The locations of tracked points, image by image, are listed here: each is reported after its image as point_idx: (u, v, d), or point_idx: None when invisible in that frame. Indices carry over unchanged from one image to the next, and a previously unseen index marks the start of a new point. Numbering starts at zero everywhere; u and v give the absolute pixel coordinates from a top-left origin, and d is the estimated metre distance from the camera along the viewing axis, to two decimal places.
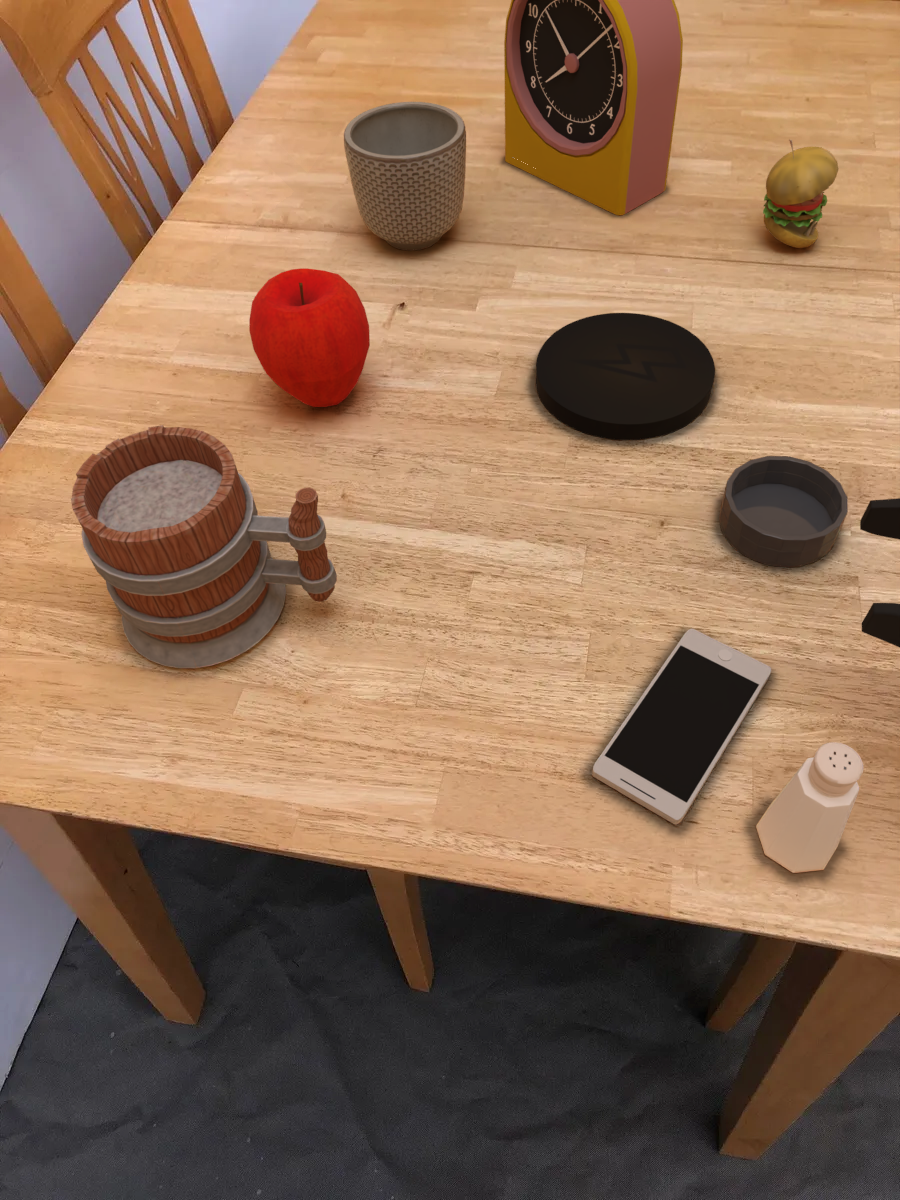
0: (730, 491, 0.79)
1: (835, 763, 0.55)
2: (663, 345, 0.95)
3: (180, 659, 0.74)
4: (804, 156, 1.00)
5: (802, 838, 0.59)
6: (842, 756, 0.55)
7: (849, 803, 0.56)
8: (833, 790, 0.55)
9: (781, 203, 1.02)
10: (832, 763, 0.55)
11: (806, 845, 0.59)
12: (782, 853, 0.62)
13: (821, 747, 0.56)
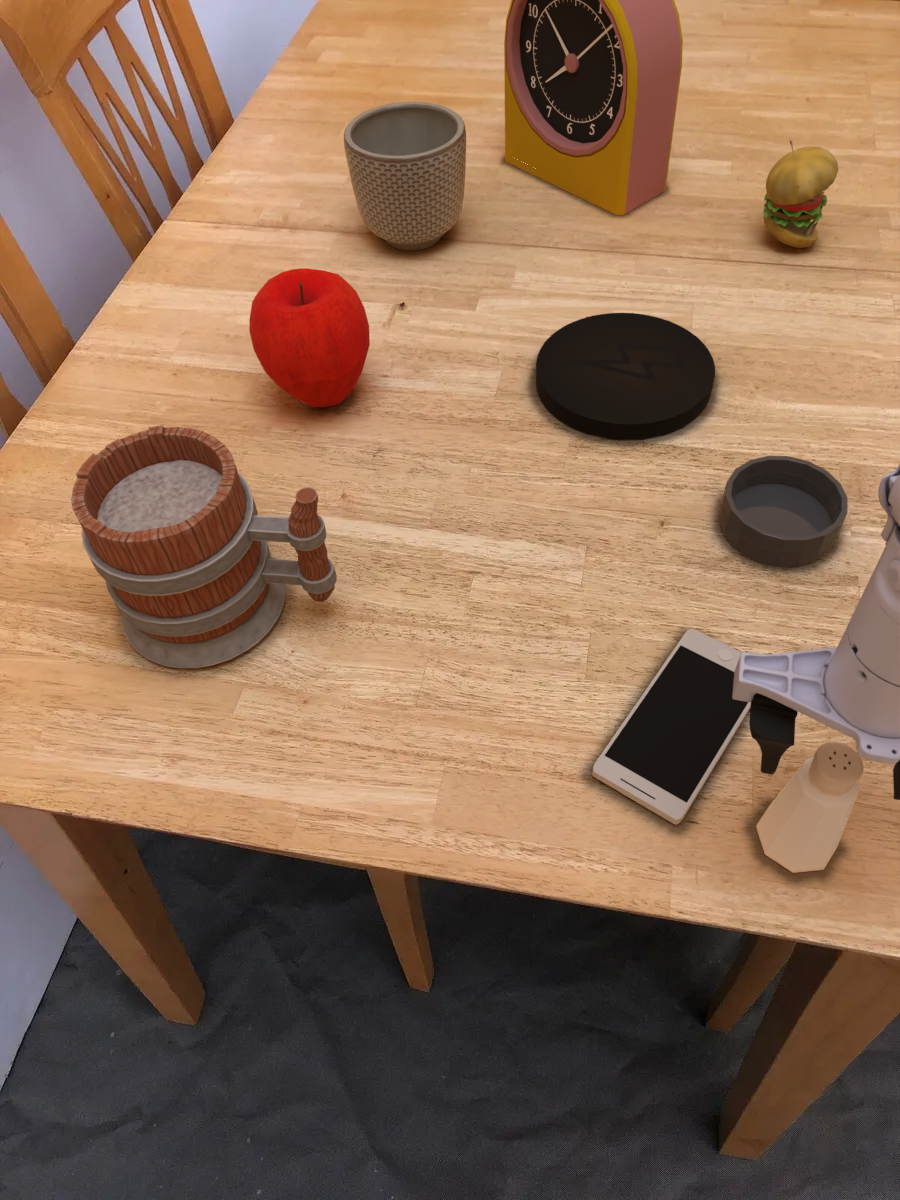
0: (730, 491, 0.79)
1: (835, 762, 0.55)
2: (663, 345, 0.95)
3: (180, 659, 0.74)
4: (804, 156, 1.00)
5: (802, 838, 0.59)
6: (842, 756, 0.55)
7: (849, 803, 0.56)
8: (833, 789, 0.55)
9: (781, 203, 1.02)
10: (832, 763, 0.55)
11: (806, 845, 0.59)
12: (782, 853, 0.62)
13: (821, 747, 0.56)
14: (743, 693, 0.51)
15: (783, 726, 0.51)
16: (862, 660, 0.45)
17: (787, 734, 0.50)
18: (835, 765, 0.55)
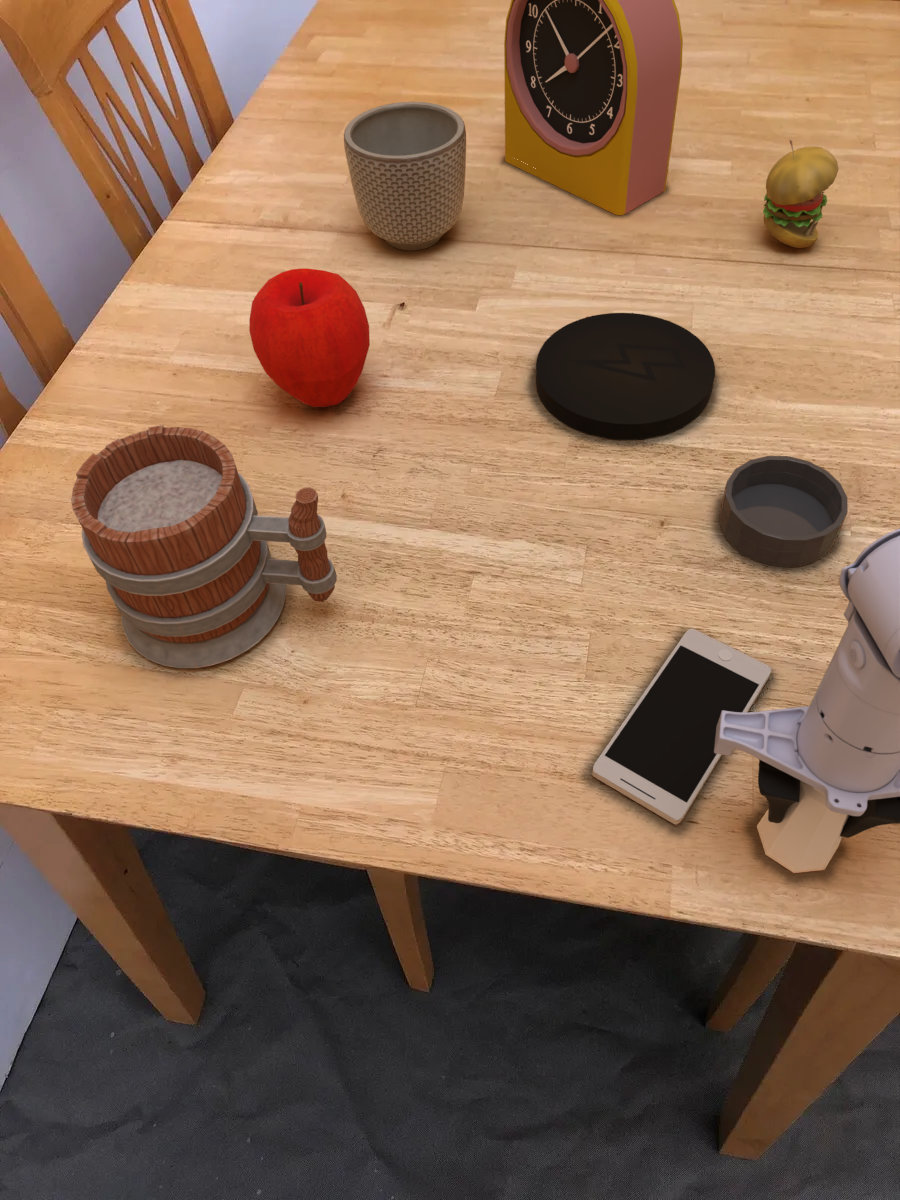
0: (730, 491, 0.79)
1: None
2: (663, 345, 0.95)
3: (180, 659, 0.74)
4: (804, 156, 1.00)
5: (803, 838, 0.59)
6: None
7: None
8: None
9: (781, 203, 1.02)
10: None
11: (807, 845, 0.59)
12: (783, 853, 0.62)
13: None
14: (724, 748, 0.55)
15: (789, 784, 0.55)
16: (828, 725, 0.50)
17: (793, 792, 0.55)
18: None
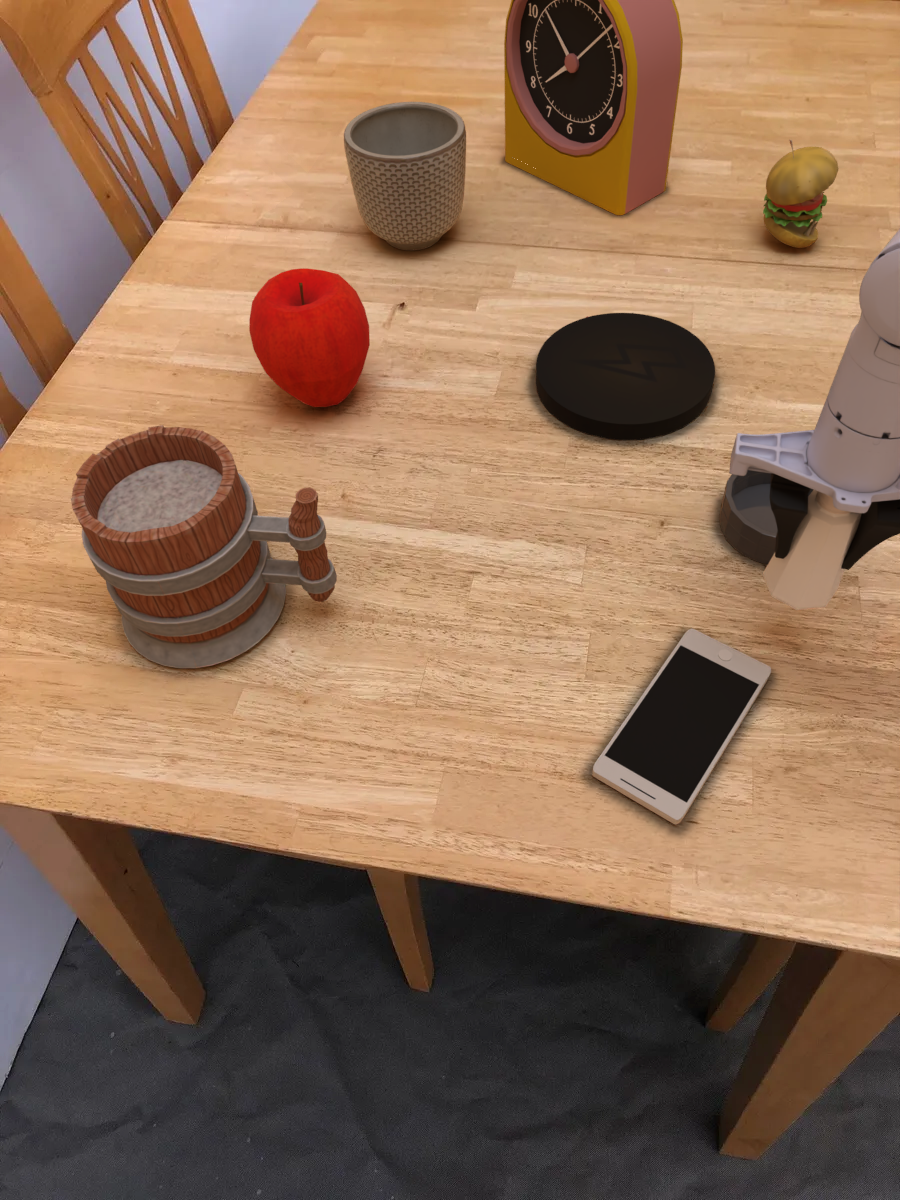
0: (730, 491, 0.79)
1: None
2: (663, 345, 0.95)
3: (179, 659, 0.74)
4: (804, 156, 1.00)
5: (808, 567, 0.64)
6: None
7: (853, 522, 0.61)
8: None
9: (781, 203, 1.02)
10: None
11: (811, 574, 0.64)
12: (788, 589, 0.66)
13: None
14: (739, 466, 0.60)
15: (798, 499, 0.60)
16: (829, 391, 0.56)
17: (801, 504, 0.59)
18: None
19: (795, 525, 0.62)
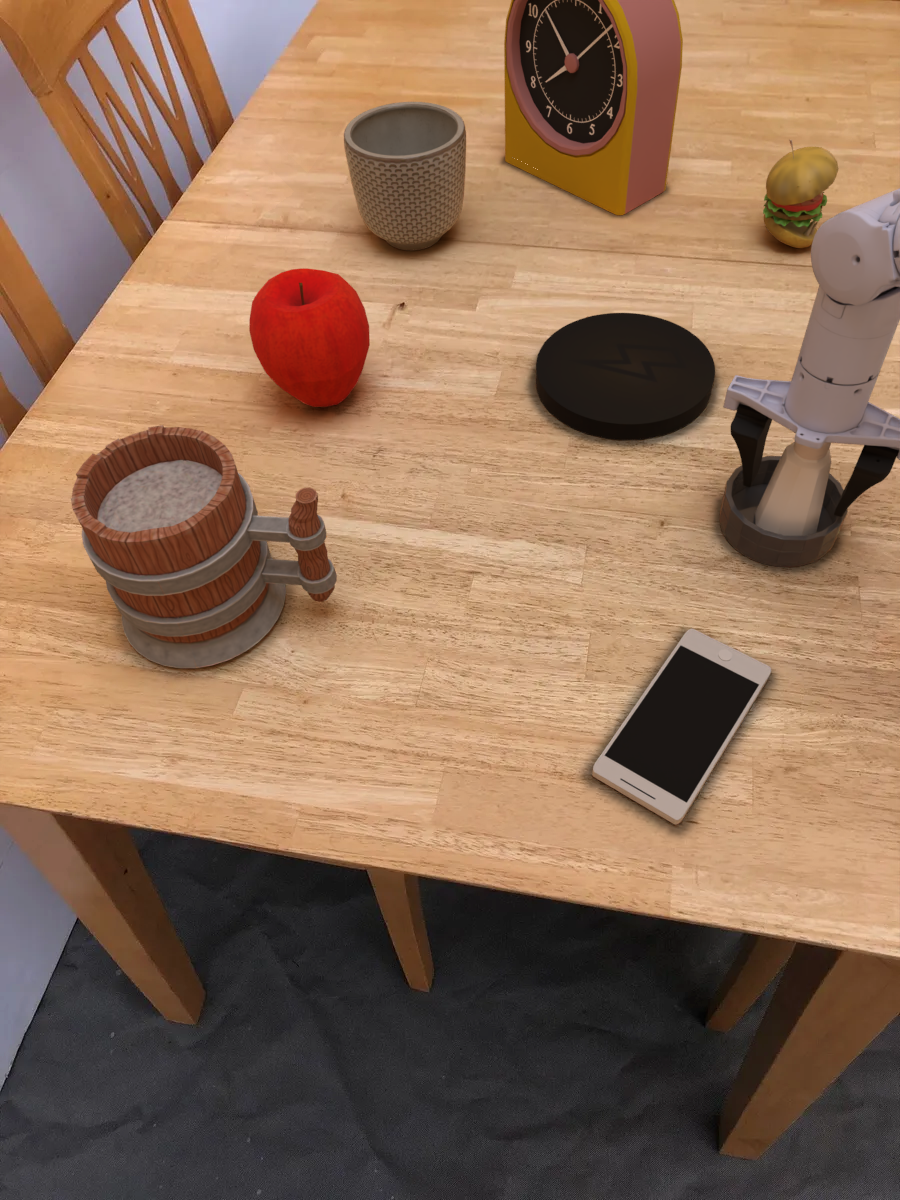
0: (730, 491, 0.79)
1: None
2: (663, 345, 0.95)
3: (180, 659, 0.74)
4: (804, 156, 1.00)
5: (782, 505, 0.76)
6: None
7: (819, 469, 0.73)
8: (807, 452, 0.72)
9: (781, 203, 1.02)
10: None
11: (784, 512, 0.77)
12: (767, 525, 0.79)
13: None
14: (730, 401, 0.73)
15: (753, 429, 0.73)
16: None
17: (754, 433, 0.73)
18: None
19: (752, 453, 0.75)
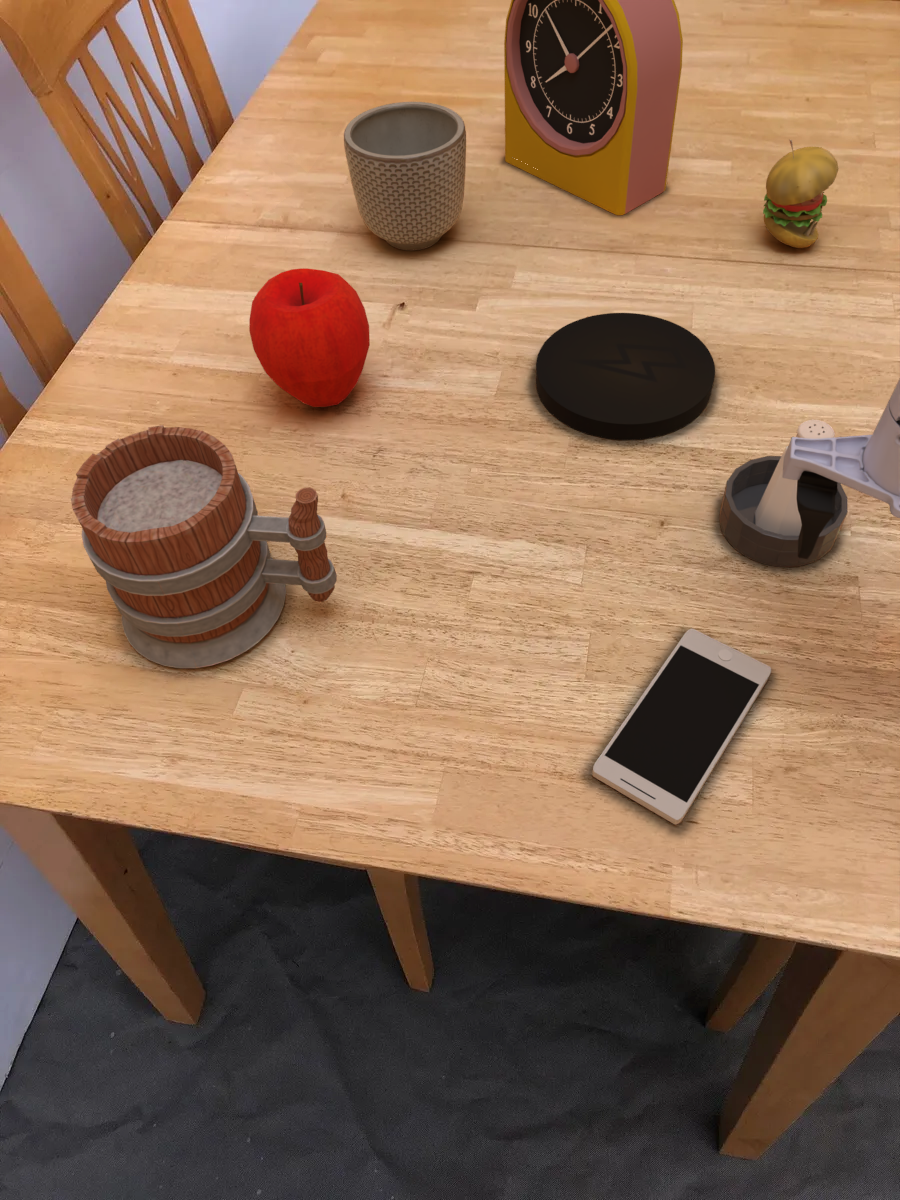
0: (730, 491, 0.79)
1: (812, 430, 0.72)
2: (663, 345, 0.95)
3: (180, 659, 0.74)
4: (804, 156, 1.00)
5: (782, 505, 0.76)
6: (819, 427, 0.72)
7: None
8: None
9: (781, 203, 1.02)
10: (810, 430, 0.72)
11: (784, 512, 0.77)
12: (767, 525, 0.79)
13: (806, 421, 0.73)
14: (793, 471, 0.59)
15: (825, 500, 0.59)
16: (891, 395, 0.55)
17: (829, 506, 0.59)
18: (812, 431, 0.72)
19: (821, 526, 0.61)
